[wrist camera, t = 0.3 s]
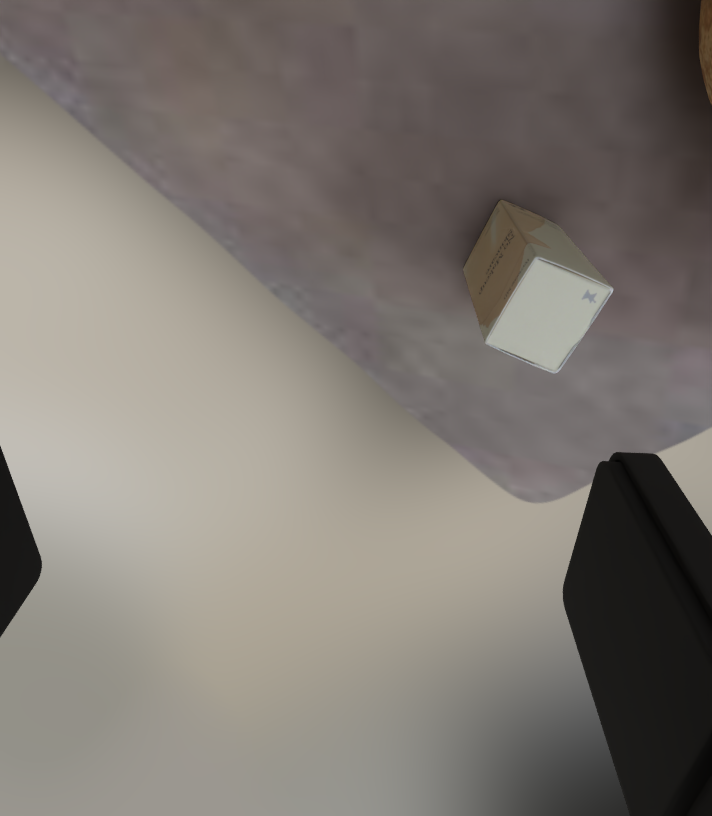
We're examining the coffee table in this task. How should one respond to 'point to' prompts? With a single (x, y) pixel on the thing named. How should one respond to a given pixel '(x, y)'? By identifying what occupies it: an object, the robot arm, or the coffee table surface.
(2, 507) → the robot arm
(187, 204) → the coffee table surface
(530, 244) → the box
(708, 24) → the ceramic vessel
